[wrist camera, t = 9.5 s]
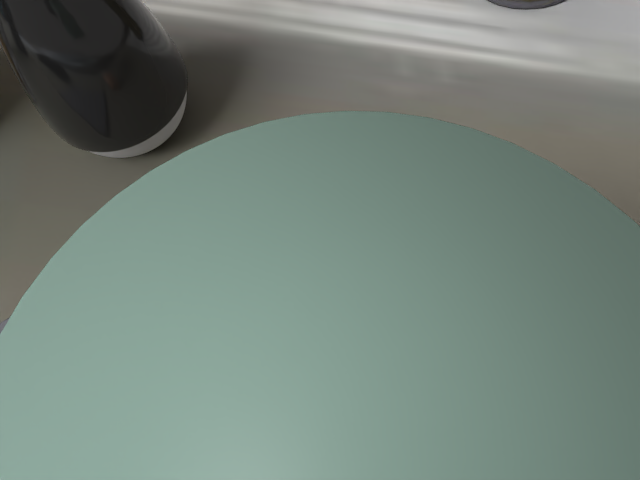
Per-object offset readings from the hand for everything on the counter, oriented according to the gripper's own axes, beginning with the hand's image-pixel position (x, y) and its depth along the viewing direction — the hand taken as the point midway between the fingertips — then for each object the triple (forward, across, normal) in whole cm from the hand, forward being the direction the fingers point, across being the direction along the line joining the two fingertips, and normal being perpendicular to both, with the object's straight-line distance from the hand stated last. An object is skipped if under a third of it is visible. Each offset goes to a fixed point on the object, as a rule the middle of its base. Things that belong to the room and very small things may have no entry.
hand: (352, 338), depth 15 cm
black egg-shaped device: (+27, -16, +3) cm, 32 cm away
